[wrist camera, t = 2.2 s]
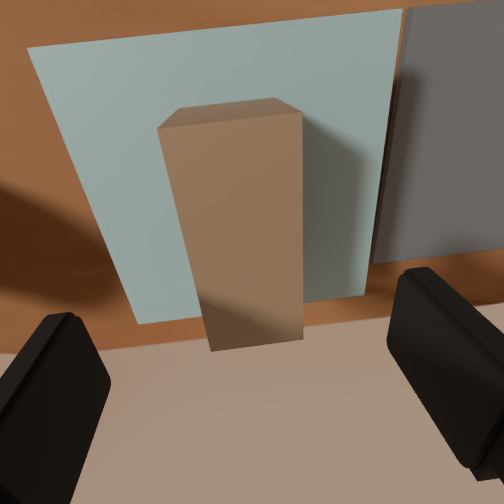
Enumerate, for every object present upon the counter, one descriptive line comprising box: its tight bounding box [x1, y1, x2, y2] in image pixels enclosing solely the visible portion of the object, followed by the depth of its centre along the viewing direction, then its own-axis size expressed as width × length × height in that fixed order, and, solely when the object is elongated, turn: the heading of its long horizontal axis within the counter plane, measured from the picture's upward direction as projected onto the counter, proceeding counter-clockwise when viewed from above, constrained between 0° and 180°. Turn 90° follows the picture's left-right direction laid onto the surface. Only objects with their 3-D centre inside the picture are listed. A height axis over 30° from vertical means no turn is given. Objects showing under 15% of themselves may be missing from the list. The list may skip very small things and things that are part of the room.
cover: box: [27, 8, 403, 352], centre depth 13 cm, size 14×14×6 cm
